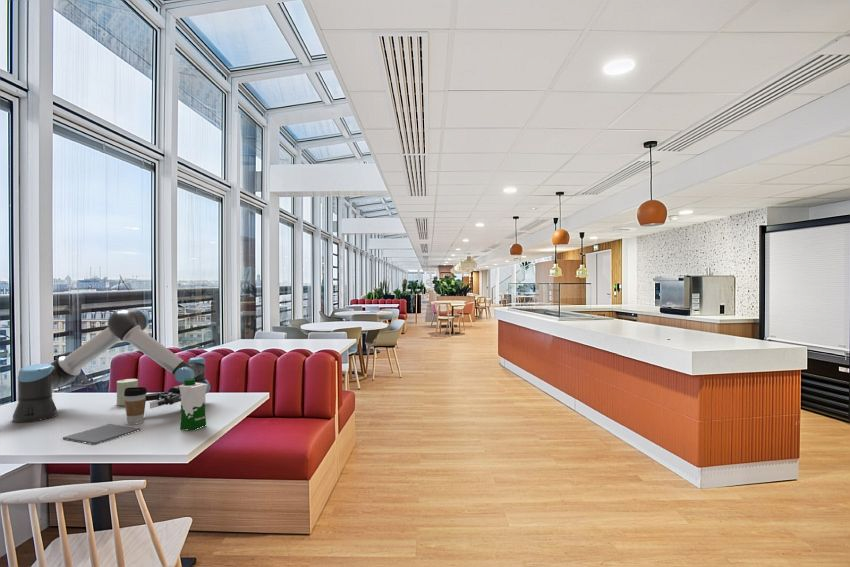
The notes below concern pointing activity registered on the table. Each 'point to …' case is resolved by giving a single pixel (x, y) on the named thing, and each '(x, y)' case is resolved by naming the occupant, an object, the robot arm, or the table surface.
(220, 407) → the table surface
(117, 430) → the mat
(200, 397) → the milk carton
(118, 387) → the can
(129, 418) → the coffee cup
